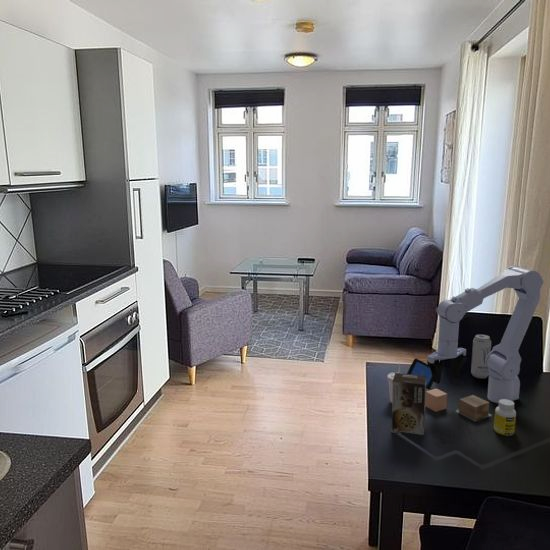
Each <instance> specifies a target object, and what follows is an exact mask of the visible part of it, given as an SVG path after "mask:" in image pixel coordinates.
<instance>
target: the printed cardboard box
mask: <svg viewBox="0 0 550 550" xmlns="http://www.w3.org/2000/svg"><path fill="white" fill-rule="evenodd" d="M394 373H395V375H394V378H393V399H392V403H391V405H392V406H391V407H392V408H391V411H392V413H391V433H392V434H399V435H402V433H406V434H413V435H414V434H415V435H421V436H424V435H425V427H426V425H425V423H426V406H425V401H426V391H427V389H426V376H423V375H412V374H407V373H403V374H402V372H400V373H398V372H394Z"/></svg>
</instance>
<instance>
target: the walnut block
mask: <svg viewBox="0 0 550 550" xmlns="http://www.w3.org/2000/svg"><path fill="white" fill-rule="evenodd" d="M458 400H459V401H458V402H459V403H458V410H459V412H461V413H463V414H465V415H467V416H469V417H471V418H472V419H474V420H475V419H478V418H480V417H483V416H486V415H488V413H489V412H490V402H489V401H487V400H485V399H483V398H481V397H478V396H476V395H474V394H472V395H469V396H466V397H462V398H460V399H458ZM489 414H490V413H489Z"/></svg>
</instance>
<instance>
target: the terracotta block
mask: <svg viewBox="0 0 550 550" xmlns="http://www.w3.org/2000/svg"><path fill="white" fill-rule="evenodd" d="M447 401H448V393H446V392H445V391H442V390H440V389H438V388H433V389H428V390H426V401H425V408H428V409H430V410H431V411H433V412H436V413H437V412H440V411H443V410H446V409H447V406H448V405H447V403H448V402H447Z"/></svg>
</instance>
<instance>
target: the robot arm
mask: <svg viewBox="0 0 550 550" xmlns="http://www.w3.org/2000/svg"><path fill="white" fill-rule="evenodd" d="M543 284H544V279H543V278H542V276H541V274H540V273H539V272H538V271H536V270H533V269H528V268H525V267H521V266H519V265H510V266H509V267H508V268H505V269H503V270H502V272H501V273H500V274H499V275H497V276H496V277H494V278H492V279H491V280H489V281H488V282H486V283H484V284H483V285H481V286H480V287H478V288H475V287H471V288H469V287H467V288H464V291H463V292H461V293H460V294H458V295H455V296H452V297H451V299H444V300H442V301H441V302H440V303H439V304H438V306H437V307H436V310H435V311H436V314H437V315H438V317H439V318H438V319H439V325H438V337H437V338H438V340H437V341H438V343H437V348H436V349H435V351H434V352H433V353H431V354H429V355H427V359H426V364H428V365H429V367H430V370H431V373H432V377H433V383H435V384H437V385H440V384H441V379H442V373H443V369H444V368H445V366H446V364H444V363H442V362H441V361H442V360H443V361H444V360H448V359H449V363H450V378H453V379H455V380H457V379H458V377H459V374H460V373H461V370H462V368H463V366H464V365H465V363H467V360H468V359H467V358H468V357H466V355H467V349H466V348H463V347H458V345H459V342H458V341H459V330H460V328H459V327H460V321H461V320H462V319H463V318H464V316H465V314H467V313H468V312H470V311H472V310H474V309H475V308H477V307H479V306H481V305H482V304H483V301H484V299H486V298H487V297H489V296H492V295H494V294H496V293H499V292H500V291H502V290H504V289H513V290H514V291H515V294H516V295H517V297H518V300H517V302H516V305H515V307H514V309H513V312H512V314H511V316H510V318H509V321H508V324H507V326H506V329H505V331H504V333H503V336H502V338H501V341H500V343H499V344H496V345H495V346H493V347H492V348H491V349H492V350H491V352H490V353H489V354H488V355H487V357H486V360H485V363H486V366H487V367H488V368H489V375H488V384H487V400H489V401H490V402H493V403H496V404H499V400H501V399H507V400H511V401H513V402H514V401H516V400H519V399H520V396H519V395H520V387H521V381H520V378H519V376H518V375H519V374H520V371H521V368H520V367H521V362H522V357H521V356H520V353H519V350H520V347H521V344H522V342H523V340H524V337H525V336H526V333H527V330H528V328H529V326H530V323H531V321H532V318H533V316H534V314H535V311H536V309H537V307H538V304H539V302H540V299H541V289H542V286H543Z"/></svg>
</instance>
